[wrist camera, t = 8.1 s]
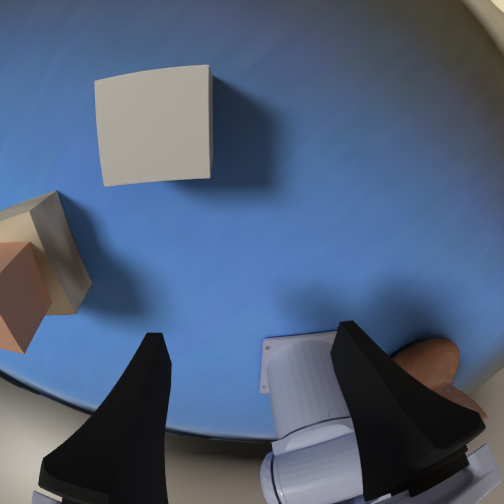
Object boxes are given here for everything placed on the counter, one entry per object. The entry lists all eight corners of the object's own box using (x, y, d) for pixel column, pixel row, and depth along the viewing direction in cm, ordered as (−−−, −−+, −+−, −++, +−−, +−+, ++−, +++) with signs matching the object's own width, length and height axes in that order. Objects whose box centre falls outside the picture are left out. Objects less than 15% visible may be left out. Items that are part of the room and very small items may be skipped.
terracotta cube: (52, 303, 16) (24, 354, 12) (9, 298, 15) (-19, 342, 11) (29, 241, 13) (-13, 288, 9) (-14, 243, 13) (-52, 283, 9)
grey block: (213, 155, 16) (209, 178, 12) (133, 161, 16) (104, 186, 11) (212, 75, 13) (208, 64, 9) (129, 84, 13) (94, 81, 9)
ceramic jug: (330, 378, 30) (363, 485, 18) (430, 303, 25) (497, 404, 13) (385, 403, 37) (412, 472, 25) (456, 351, 33) (495, 418, 21)
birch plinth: (93, 280, 20) (76, 314, 17) (30, 288, 20) (11, 316, 16) (59, 188, 16) (29, 211, 12) (-4, 211, 16) (-31, 233, 12)
